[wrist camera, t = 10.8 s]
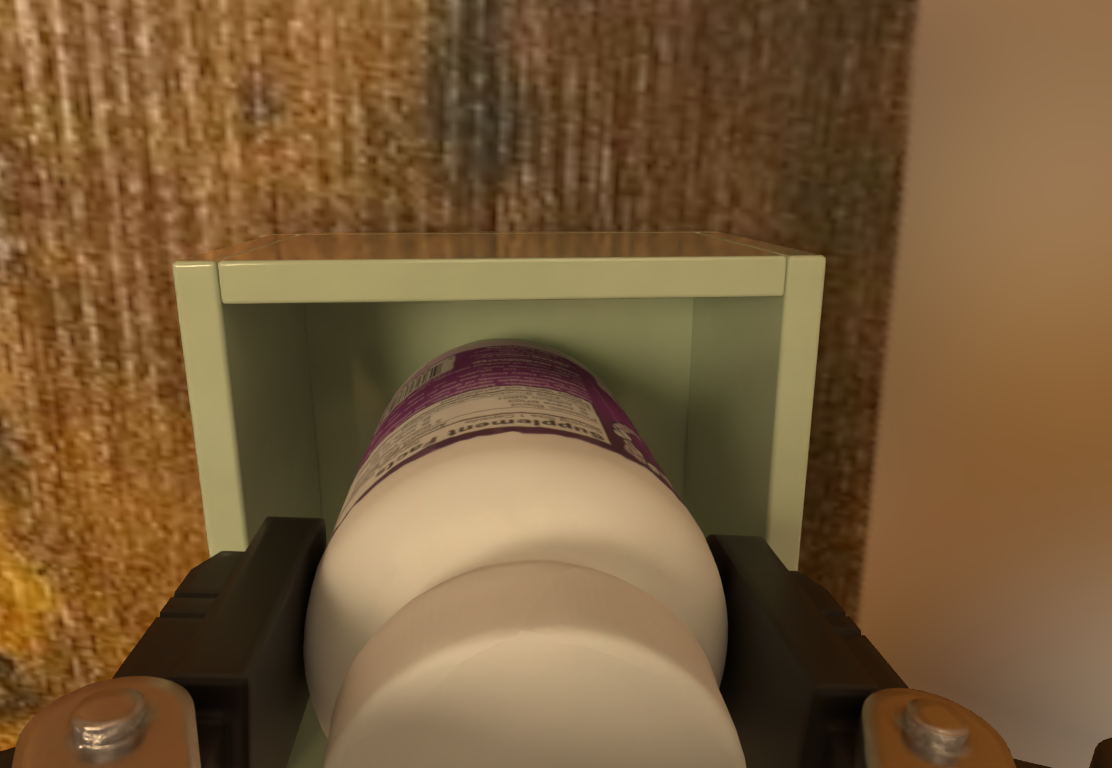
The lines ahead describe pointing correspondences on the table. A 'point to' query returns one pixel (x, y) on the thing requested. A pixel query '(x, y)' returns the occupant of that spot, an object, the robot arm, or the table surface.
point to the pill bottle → (516, 584)
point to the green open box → (498, 313)
